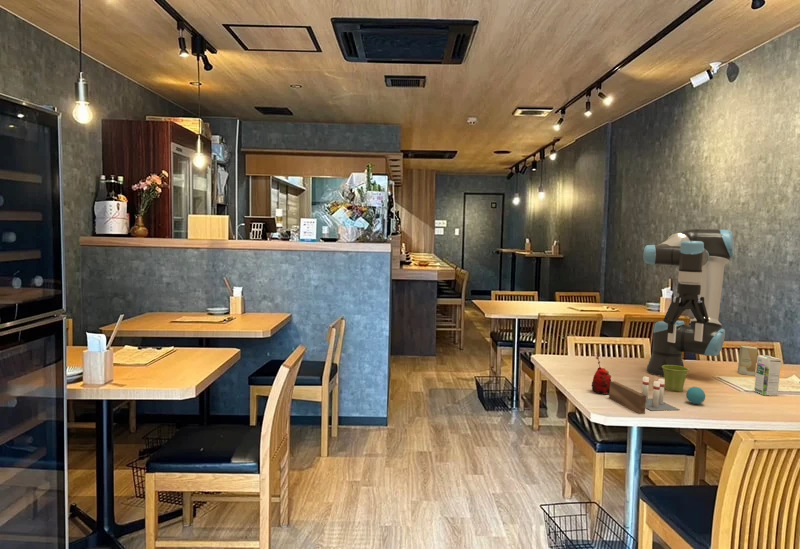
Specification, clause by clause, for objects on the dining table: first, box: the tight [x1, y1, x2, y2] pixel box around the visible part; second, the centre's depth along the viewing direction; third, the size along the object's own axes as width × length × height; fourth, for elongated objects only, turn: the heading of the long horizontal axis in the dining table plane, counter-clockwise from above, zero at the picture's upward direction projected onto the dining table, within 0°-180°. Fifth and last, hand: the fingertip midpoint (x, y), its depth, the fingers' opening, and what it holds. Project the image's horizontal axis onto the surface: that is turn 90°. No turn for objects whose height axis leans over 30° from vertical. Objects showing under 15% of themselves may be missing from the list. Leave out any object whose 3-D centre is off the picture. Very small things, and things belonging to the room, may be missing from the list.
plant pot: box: [662, 365, 690, 392], centre depth 216 cm, size 9×9×9 cm
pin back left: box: [651, 380, 660, 408], centre depth 191 cm, size 2×2×9 cm
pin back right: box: [641, 375, 650, 402], centre depth 197 cm, size 2×2×9 cm
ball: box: [685, 386, 706, 405], centre depth 198 cm, size 6×6×6 cm
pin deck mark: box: [645, 397, 681, 412], centre depth 195 cm, size 11×13×1 cm
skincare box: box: [737, 345, 758, 377], centre depth 248 cm, size 6×4×12 cm
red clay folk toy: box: [591, 352, 612, 395], centre depth 208 cm, size 8×7×15 cm
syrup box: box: [753, 354, 782, 397], centre depth 215 cm, size 6×6×14 cm
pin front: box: [657, 378, 665, 405], centre depth 195 cm, size 2×2×9 cm
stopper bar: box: [608, 380, 646, 415], centre depth 193 cm, size 2×18×6 cm, turn 11°
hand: (684, 341), depth 203 cm, fingers open, 13 cm apart
